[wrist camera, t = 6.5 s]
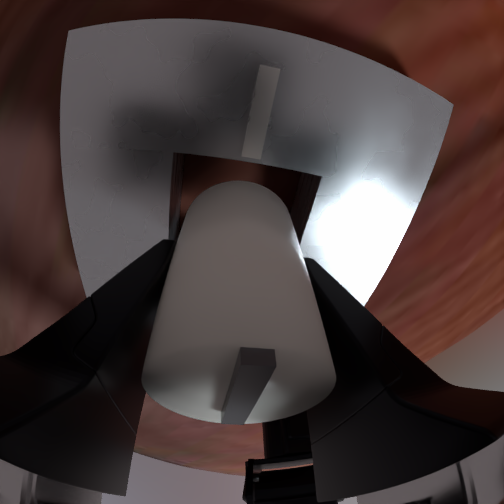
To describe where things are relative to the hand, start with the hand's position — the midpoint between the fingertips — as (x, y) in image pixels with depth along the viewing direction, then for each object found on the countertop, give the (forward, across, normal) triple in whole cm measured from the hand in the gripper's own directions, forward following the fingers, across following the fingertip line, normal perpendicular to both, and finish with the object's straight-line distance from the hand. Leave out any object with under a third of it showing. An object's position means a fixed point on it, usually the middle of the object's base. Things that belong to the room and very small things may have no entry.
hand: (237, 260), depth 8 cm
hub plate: (+4, 0, 0) cm, 4 cm away
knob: (+2, 0, 0) cm, 2 cm away
